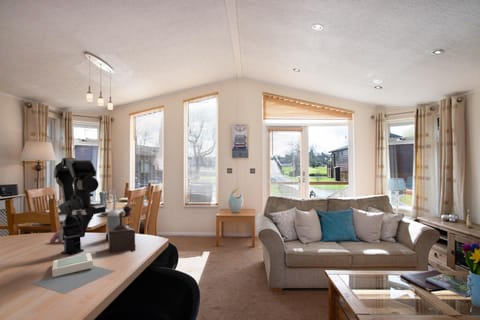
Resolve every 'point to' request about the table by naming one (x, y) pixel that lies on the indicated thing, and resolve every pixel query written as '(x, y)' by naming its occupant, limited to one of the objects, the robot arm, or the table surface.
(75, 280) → the mat
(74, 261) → the picture frame
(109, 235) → the coffee grinder
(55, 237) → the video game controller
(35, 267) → the table surface
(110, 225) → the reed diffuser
